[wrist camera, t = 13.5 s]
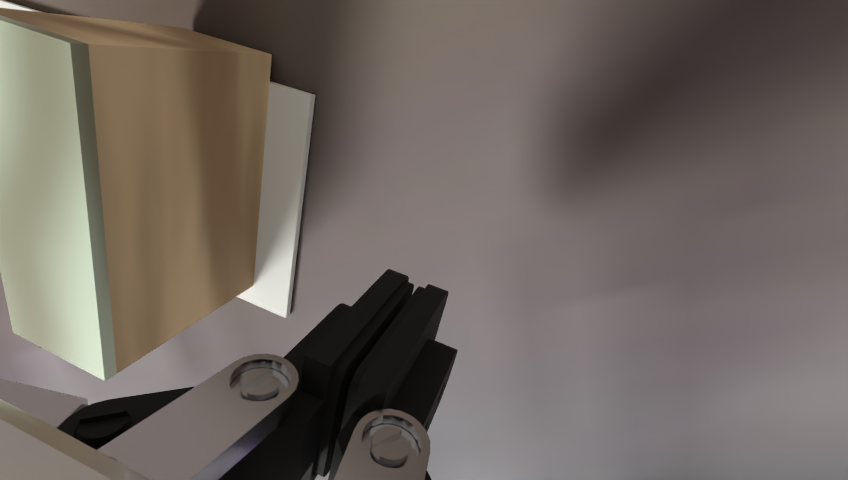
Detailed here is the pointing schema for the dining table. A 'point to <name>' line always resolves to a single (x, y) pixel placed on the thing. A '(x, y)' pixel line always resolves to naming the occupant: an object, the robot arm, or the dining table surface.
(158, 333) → the oak slab
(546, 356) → the dining table surface
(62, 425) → the robot arm
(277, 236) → the white rectangular board
